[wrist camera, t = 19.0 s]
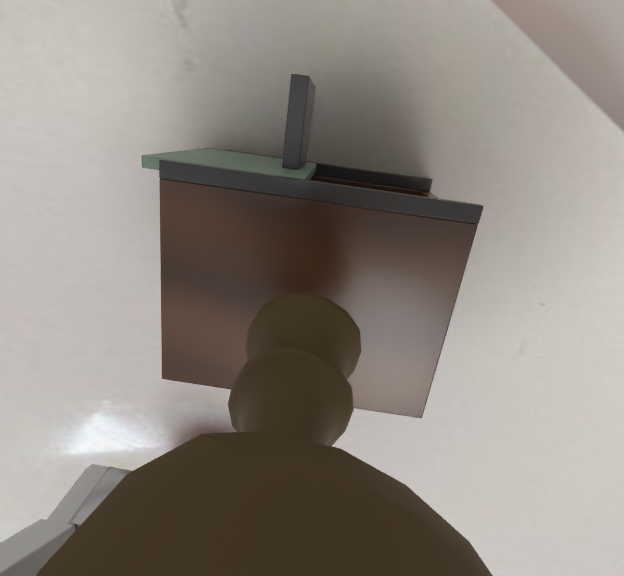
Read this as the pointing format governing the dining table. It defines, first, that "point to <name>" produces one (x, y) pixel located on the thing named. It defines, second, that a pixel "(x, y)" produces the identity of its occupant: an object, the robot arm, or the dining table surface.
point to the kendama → (271, 479)
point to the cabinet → (311, 269)
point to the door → (286, 167)
